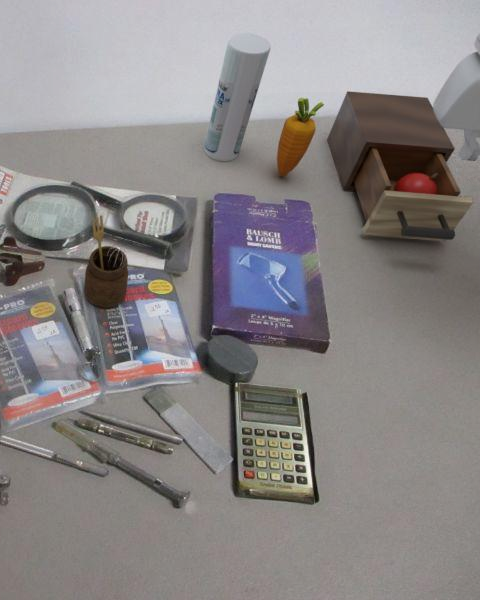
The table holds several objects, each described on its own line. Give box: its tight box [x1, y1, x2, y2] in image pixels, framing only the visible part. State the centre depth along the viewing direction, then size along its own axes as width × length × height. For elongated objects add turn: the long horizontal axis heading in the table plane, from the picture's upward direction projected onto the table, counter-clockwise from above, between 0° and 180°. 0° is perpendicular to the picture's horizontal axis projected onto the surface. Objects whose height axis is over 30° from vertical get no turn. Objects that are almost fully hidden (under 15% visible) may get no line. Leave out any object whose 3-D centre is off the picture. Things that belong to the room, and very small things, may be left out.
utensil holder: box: [83, 214, 129, 309], centre depth 80 cm, size 6×6×12 cm
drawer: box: [353, 147, 474, 242], centre depth 92 cm, size 18×13×8 cm
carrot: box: [276, 97, 325, 178], centre depth 97 cm, size 5×5×15 cm
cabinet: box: [326, 90, 456, 192], centre depth 102 cm, size 15×14×10 cm
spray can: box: [203, 32, 272, 162], centre depth 99 cm, size 6×6×20 cm
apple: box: [393, 173, 438, 195], centre depth 93 cm, size 6×6×7 cm
